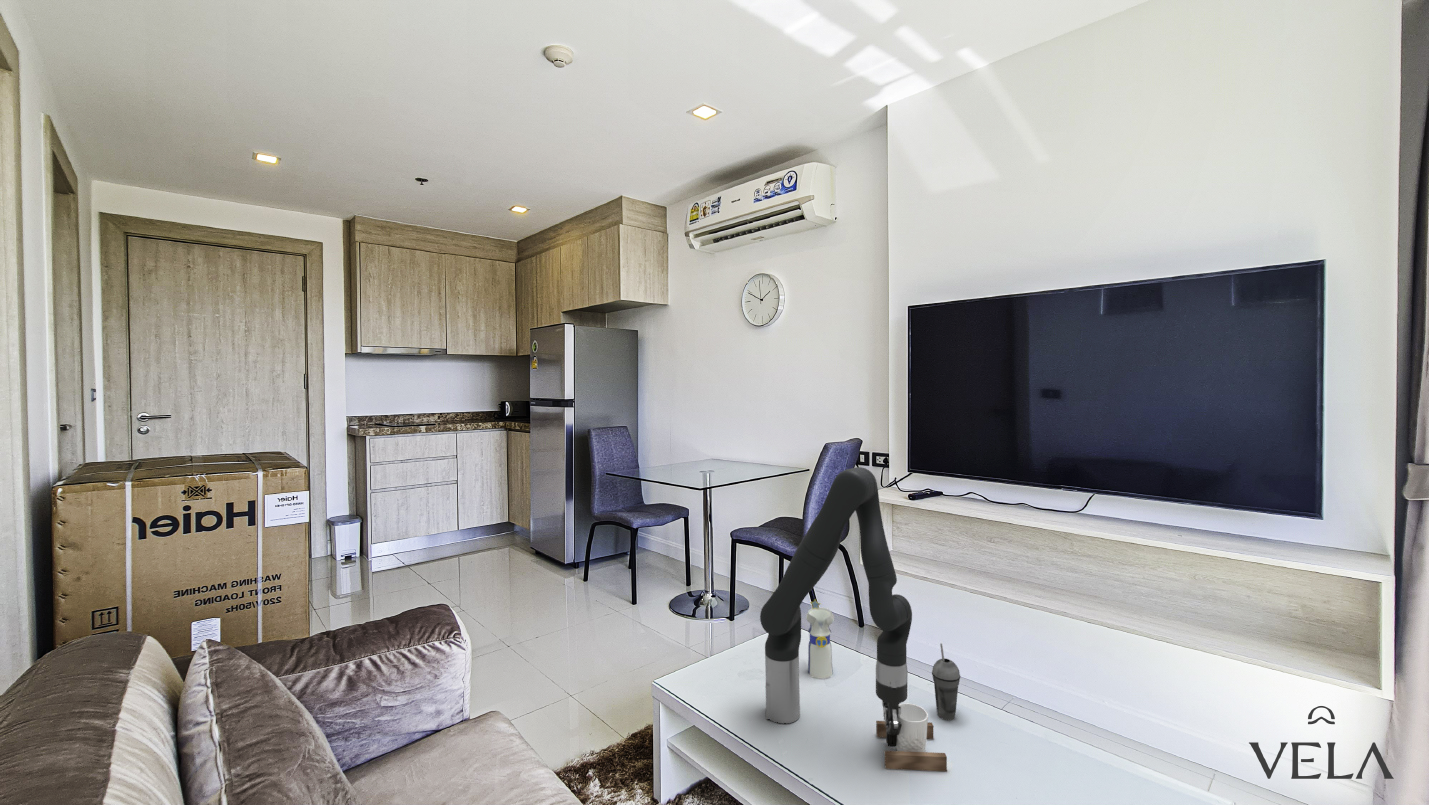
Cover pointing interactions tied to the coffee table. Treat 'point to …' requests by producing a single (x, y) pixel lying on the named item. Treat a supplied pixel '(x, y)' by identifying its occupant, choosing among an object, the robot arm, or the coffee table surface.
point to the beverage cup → (946, 687)
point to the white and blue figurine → (819, 642)
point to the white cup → (912, 728)
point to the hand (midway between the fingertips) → (891, 744)
